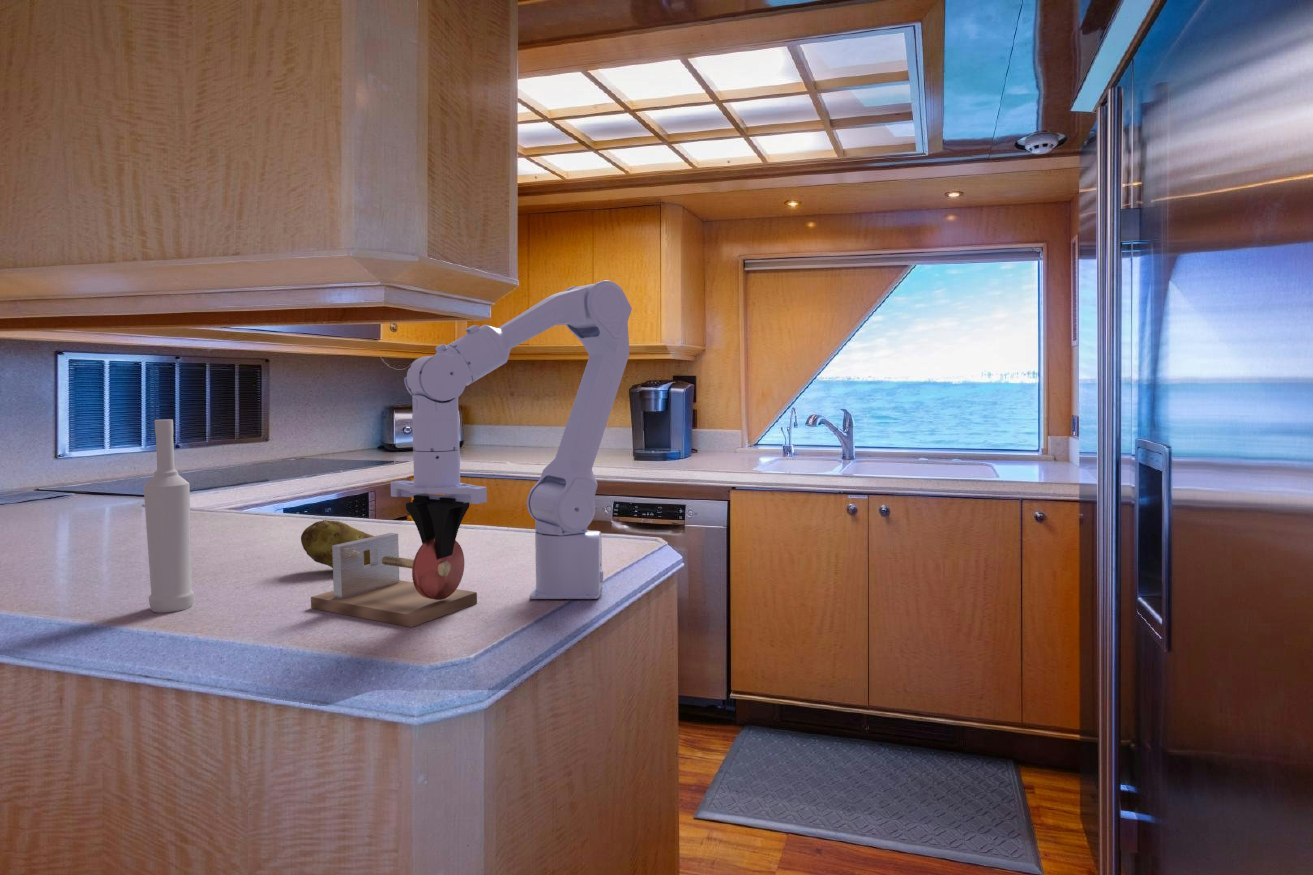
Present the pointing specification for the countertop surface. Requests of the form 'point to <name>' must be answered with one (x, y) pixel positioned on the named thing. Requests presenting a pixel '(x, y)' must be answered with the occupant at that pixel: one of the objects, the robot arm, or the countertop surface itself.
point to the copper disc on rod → (433, 570)
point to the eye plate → (359, 577)
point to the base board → (395, 604)
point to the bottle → (168, 529)
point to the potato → (330, 540)
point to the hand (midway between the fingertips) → (438, 555)
